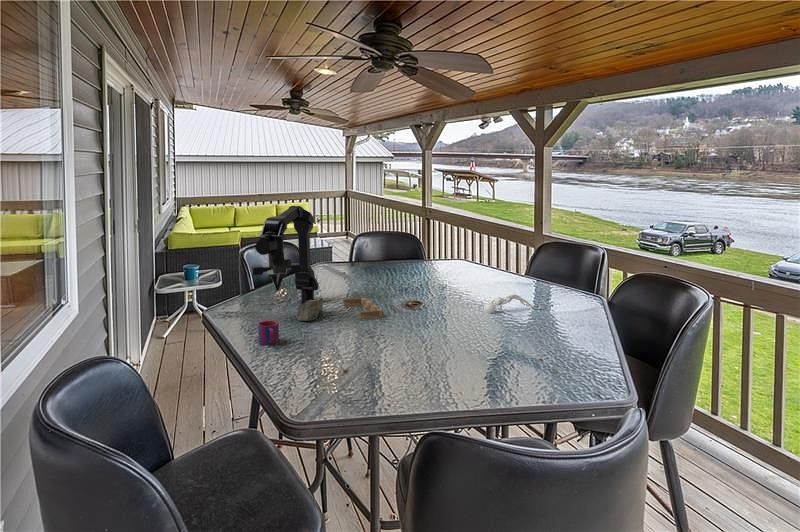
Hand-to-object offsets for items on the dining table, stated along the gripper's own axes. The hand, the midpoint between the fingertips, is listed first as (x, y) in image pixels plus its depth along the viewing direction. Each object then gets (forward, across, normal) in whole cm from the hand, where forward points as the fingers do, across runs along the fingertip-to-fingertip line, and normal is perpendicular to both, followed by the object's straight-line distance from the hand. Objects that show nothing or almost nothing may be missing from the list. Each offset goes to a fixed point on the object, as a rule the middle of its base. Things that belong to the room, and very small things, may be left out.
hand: (277, 290), depth 199 cm
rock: (+12, +12, 0) cm, 17 cm away
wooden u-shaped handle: (+12, +34, 0) cm, 36 cm away
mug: (+12, -8, -27) cm, 31 cm away
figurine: (+12, +95, -20) cm, 98 cm away
